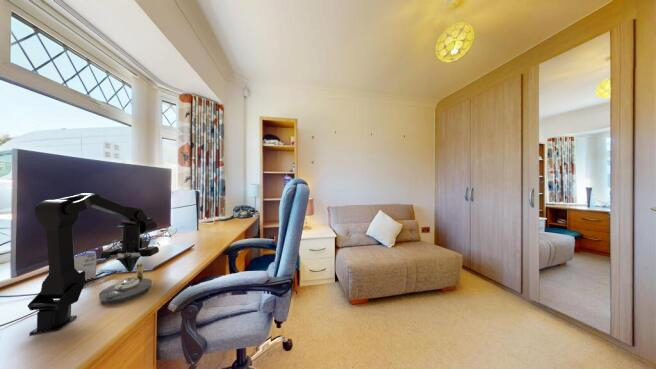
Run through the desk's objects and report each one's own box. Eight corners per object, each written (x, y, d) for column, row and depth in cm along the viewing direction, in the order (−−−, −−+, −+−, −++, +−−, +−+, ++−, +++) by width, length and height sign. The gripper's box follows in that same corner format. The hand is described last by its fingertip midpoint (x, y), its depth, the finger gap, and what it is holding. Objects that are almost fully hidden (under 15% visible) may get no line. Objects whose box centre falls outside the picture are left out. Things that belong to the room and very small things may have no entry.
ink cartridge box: (95, 275, 96) (95, 245, 96) (96, 278, 93) (97, 247, 93) (61, 283, 88) (61, 251, 88) (61, 287, 85) (62, 253, 85)
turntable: (139, 297, 75) (139, 278, 75) (86, 304, 70) (87, 284, 70) (161, 277, 91) (161, 261, 91) (119, 282, 86) (120, 265, 86)
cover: (132, 290, 78) (133, 283, 78) (109, 293, 75) (110, 285, 75) (142, 281, 84) (143, 275, 84) (122, 284, 82) (122, 277, 82)
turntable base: (137, 300, 75) (137, 297, 75) (92, 306, 71) (92, 303, 71) (155, 284, 88) (155, 281, 88) (117, 288, 84) (117, 285, 84)
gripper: (166, 231, 97) (165, 263, 96) (121, 233, 93) (120, 265, 93) (150, 237, 86) (150, 273, 86) (99, 239, 82) (98, 276, 82)
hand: (130, 271), depth 87 cm, fingers closed
